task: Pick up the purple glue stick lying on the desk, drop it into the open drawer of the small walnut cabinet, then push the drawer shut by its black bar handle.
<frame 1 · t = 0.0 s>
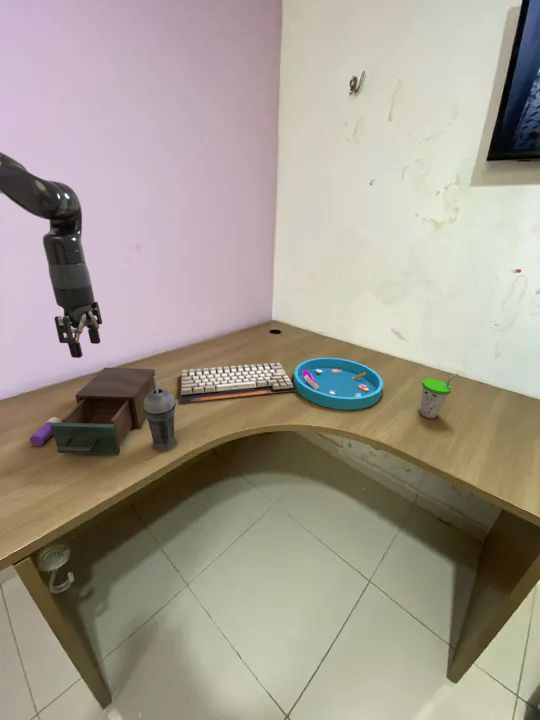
hand: (87, 349, 76), 21 cm above the table, tool pointing down, fingers open, 8 cm apart
glue stick: (48, 435, 78), on the table
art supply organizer: (336, 385, 109), on the table
cabinet: (123, 410, 90), on the table
beverage cup: (164, 445, 77), on the table
mechanical keyboard: (236, 384, 107), on the table
cup: (427, 414, 95), on the table
drawer: (96, 426, 75), point 5 cm above the table, slide at 10.0 cm
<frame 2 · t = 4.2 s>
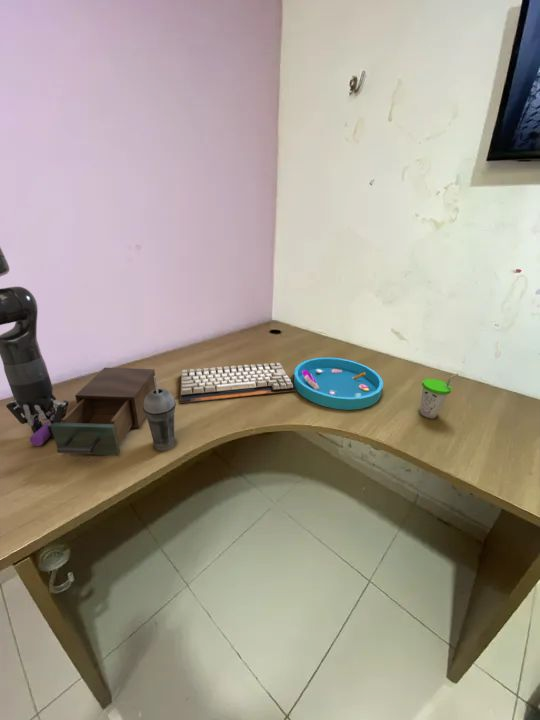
hand: (47, 435, 78), 0 cm above the table, tool pointing down, fingers closed on glue stick, 3 cm apart
glue stick: (50, 435, 78), on the table, tilted 29°, touching gripper
everything else where it was.
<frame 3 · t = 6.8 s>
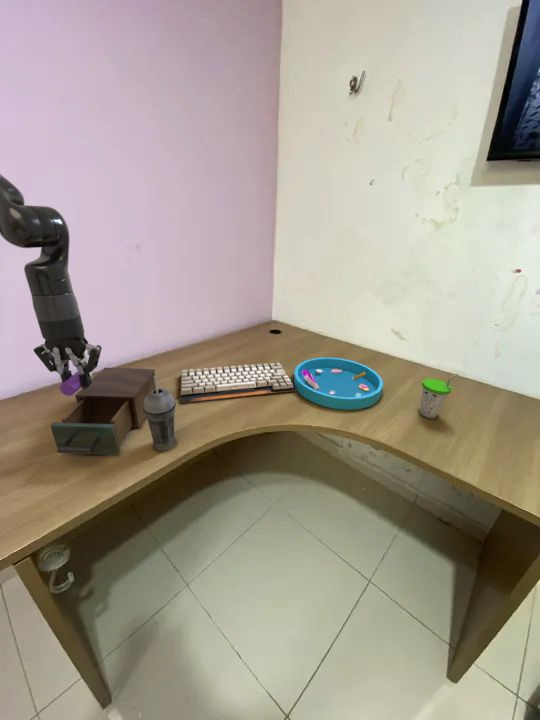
hand: (78, 386, 71), 16 cm above the table, tool pointing down, fingers closed on glue stick, 3 cm apart
glue stick: (81, 386, 71), point 16 cm above the table, tilted 30°, touching gripper
everything else where it was.
when the fingers open (6 cm above the table, at t = 10.4 s): glue stick stays where it is, resting on drawer.
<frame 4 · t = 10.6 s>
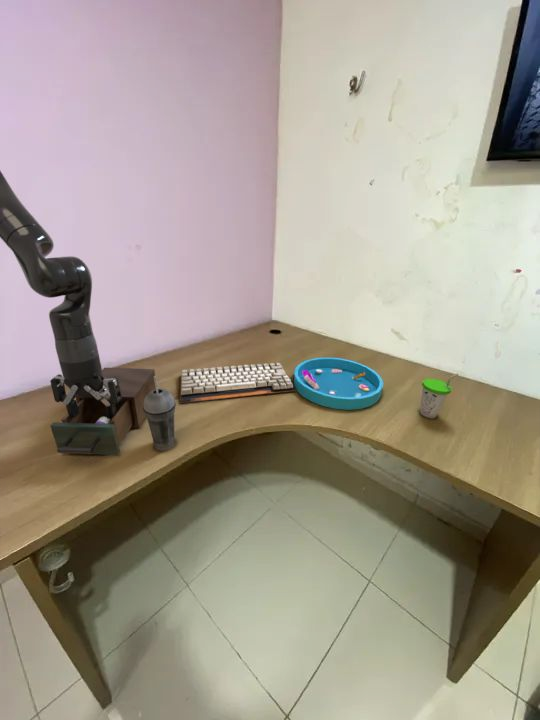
hand: (93, 416, 74), 8 cm above the table, tool pointing down, fingers open, 8 cm apart
glue stick: (101, 435, 76), point 2 cm above the table, tilted 24°, touching drawer
drawer: (96, 426, 75), point 5 cm above the table, slide at 10.0 cm, touching glue stick
everything else where it was.
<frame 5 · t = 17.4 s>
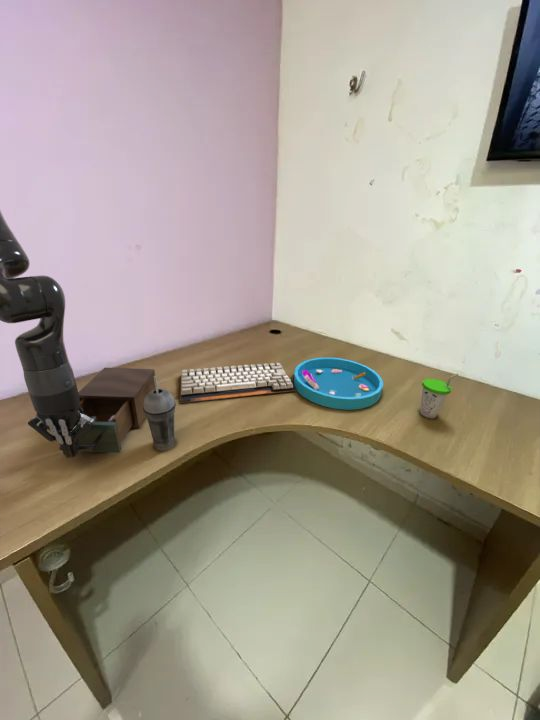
hand: (72, 454, 66), 5 cm above the table, tool pointing down, fingers closed
glue stick: (104, 430, 76), point 3 cm above the table, tilted 72°, touching drawer
drawer: (97, 424, 76), point 5 cm above the table, slide at 9.2 cm, touching glue stick, gripper
everything else where it was.
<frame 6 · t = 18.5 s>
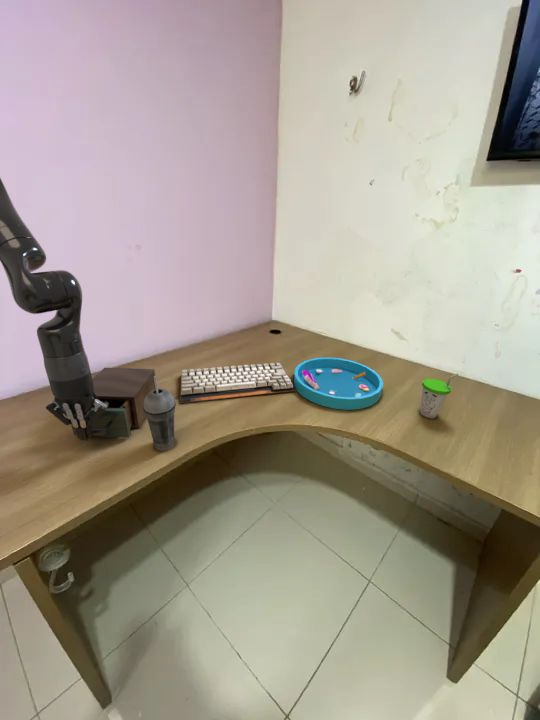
hand: (86, 438, 71), 5 cm above the table, tool pointing down, fingers closed
glue stick: (115, 416, 81), point 4 cm above the table, tilted 86°, touching drawer
drawer: (108, 411, 81), point 5 cm above the table, slide at 3.7 cm, touching glue stick, gripper
everything else where it was.
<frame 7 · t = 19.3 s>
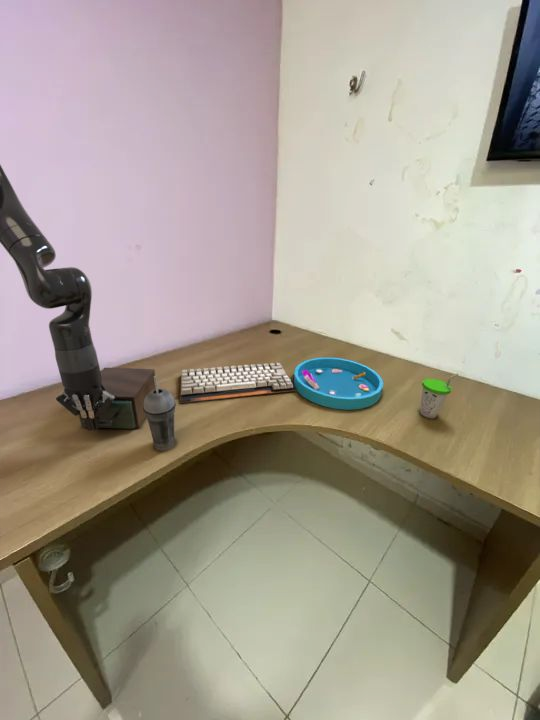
hand: (94, 428, 74), 5 cm above the table, tool pointing down, fingers closed
glue stick: (121, 408, 84), point 4 cm above the table, tilted 95°, touching drawer
drawer: (114, 404, 84), point 5 cm above the table, slide at 0.2 cm, touching glue stick, gripper
everything else where it was.
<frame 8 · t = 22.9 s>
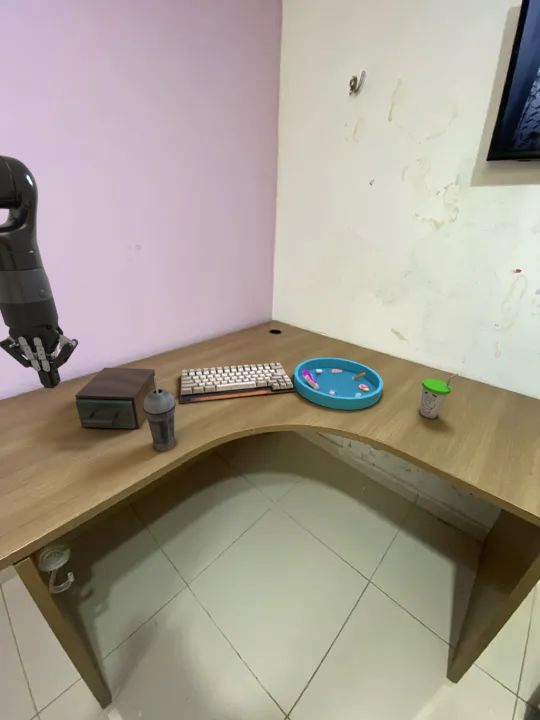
hand: (52, 386, 59), 22 cm above the table, tool pointing down, fingers closed
glue stick: (122, 406, 84), point 4 cm above the table, tilted 106°, touching drawer
drawer: (114, 404, 84), point 5 cm above the table, slide at 0.1 cm, touching glue stick
everything else where it was.
at the end: glue stick inside the target area in the cabinet (4.7 cm from its centre), point 4.1 cm above the cabinet's base; drawer slide at 0.1 cm; the gripper is holding nothing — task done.
